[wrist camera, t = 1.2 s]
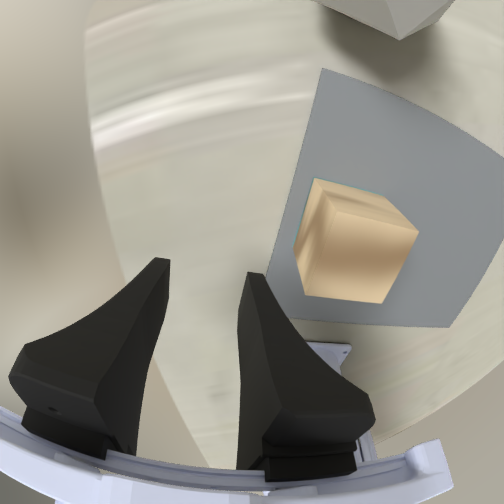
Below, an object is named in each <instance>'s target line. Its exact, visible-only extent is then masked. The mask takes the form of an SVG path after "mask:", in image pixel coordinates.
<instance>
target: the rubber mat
mask: <svg viewBox="0 0 504 504" xmlns="http://www.w3.org/2000/svg"><path fill="white" fill-rule="evenodd" d="M313 177H317V178H321V179H325V180H329V181H333V182H337V183H341V184H345V185H349V186H352V187H356V188H360V189H363V190H367V191H370V192H374V193H377V194H381V195H383V196H384V197H385V198H386V199H387V200H388V201H389V202H390V203H391V204H393V205H394V206H395V207H396V208H397V209H398V210H399V211H400V212H401V213H402V214H403V215H404V216H405V217H406V218H407V219H408V220H409V222H410V223H411V224H412V225H413V226H414V227H415V228H416V229H417V230H418V231H419V233H418V235H417V237H416V240H415V242H414V244H413V246H412V248H411V250H410V252H409V254H408V256H407V258H406V260H405V262H404V264H403V266H402V268H401V270H400V271H399V273H398V275H397V277H396V279H395V281H394V283H393V285H392V286H391V288H390V290H389V292H388V293H387V295H386V297H385V299H384V301H383V302H382V304H380V303H371V302H361V301H352V300H343V299H334V298H325V297H317V296H308V295H305V292H304V288H303V285H302V281H301V277H300V273H299V269H298V266H297V262H296V258H295V254H294V251H293V247H292V246H293V242H294V239H295V236H296V233H297V230H298V227H299V223H300V220H301V217H302V214H303V210H304V207H305V204H306V201H307V197H308V194H309V191H310V187H311V184H312V181H313ZM503 239H504V158H503V157H502V156H500V155H499V154H498V153H496V152H495V151H493V150H492V149H490V148H489V147H488V146H486V145H485V144H483V143H482V142H480V141H479V140H477V139H476V138H474V137H472V136H471V135H469V134H468V133H466V132H464V131H463V130H461V129H460V128H458V127H456V126H454V125H453V124H451V123H449V122H448V121H446V120H444V119H442V118H440V117H439V116H437V115H435V114H433V113H431V112H429V111H427V110H425V109H423V108H421V107H419V106H417V105H415V104H413V103H411V102H409V101H407V100H405V99H403V98H401V97H398V96H396V95H394V94H392V93H389V92H387V91H385V90H382V89H380V88H378V87H375V86H373V85H370V84H367V83H365V82H362V81H360V80H357V79H354V78H351V77H349V76H346V75H343V74H340V73H337V72H334V71H331V70H328V69H324V68H322V71H321V75H320V79H319V83H318V87H317V91H316V95H315V99H314V103H313V107H312V111H311V114H310V118H309V122H308V126H307V130H306V134H305V137H304V141H303V145H302V149H301V152H300V156H299V160H298V164H297V167H296V171H295V175H294V178H293V182H292V186H291V189H290V193H289V197H288V200H287V204H286V207H285V211H284V215H283V218H282V222H281V225H280V229H279V232H278V236H277V239H276V243H275V246H274V250H273V253H272V257H271V260H270V264H269V267H268V271H267V274H266V278H265V279H266V281H267V283H268V285H269V287H270V289H271V290H272V292H273V294H274V296H275V298H276V300H277V301H278V303H279V305H280V306H281V308H282V310H283V311H284V313H285V314H286V316H287V317H288V318H295V319H304V320H315V321H326V322H338V323H351V324H366V325H383V326H404V327H438V328H449V327H450V326H451V324H452V323H453V322H454V320H455V319H456V317H457V316H458V315H459V313H460V312H461V310H462V309H463V307H464V306H465V304H466V303H467V301H468V300H469V298H470V297H471V295H472V294H473V292H474V290H475V289H476V287H477V286H478V284H479V282H480V281H481V279H482V277H483V276H484V274H485V272H486V270H487V269H488V267H489V265H490V263H491V262H492V260H493V258H494V256H495V254H496V252H497V250H498V248H499V247H500V245H501V243H502V241H503Z"/></svg>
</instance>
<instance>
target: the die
mask: <svg viewBox="0 0 504 504" xmlns="http://www.w3.org/2000/svg"><path fill="white" fill-rule="evenodd" d="M312 1H315V2H317V3H320V4H322V5H325V6H327V7H329V8H332V9H334V10H336V11H338V12H340V13H343V14H345V15H347V16H349V17H351V18H353V19H355V20H357V21H359V22H361V23H363V24H366V25H368V26H370V27H372V28H375V29H377V30H379V31H381V32H383V33H385V34H388V35H390V36H392V37H394V38H396V39H398V40H401V39H403V38H405V37H407V36H409V35H411V34H413V33H415V32H417V31H419V30H421V29H423V28H425V27H427V26H429V25H431V24H433V23H435V22H437V21H438V20H439V19H440V17H441V16H442V15H443V14H444V13H445V11H446V10H447V9H448V8H449V7H450V5H451V4H452V3H453V2H454V1H455V0H312Z"/></svg>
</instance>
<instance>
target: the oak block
mask: <svg viewBox="0 0 504 504" xmlns="http://www.w3.org/2000/svg"><path fill="white" fill-rule="evenodd" d="M418 233H419V231H418V230H417V229H416V228H415V227H414V226H413V225H412V224H411V223H410V222H409V220H408V219H407V218H406V217H405V216H404V215H403V214H402V213H401V212H400V211H399V210H398V209H397V208H396V207H395V206H394V205H393V204H391V203H390V202H389V201H388V200H387V199H386V198H385V197H384V196H383V195H381V194H377V193H374V192H370V191H367V190H363V189H360V188H356V187H352V186H349V185H345V184H341V183H337V182H333V181H329V180H325V179H321V178H317V177H313V181H312V184H311V187H310V191H309V194H308V197H307V201H306V204H305V207H304V210H303V214H302V217H301V220H300V223H299V227H298V230H297V233H296V236H295V239H294V242H293V246H292V247H293V251H294V254H295V258H296V262H297V266H298V269H299V273H300V277H301V281H302V285H303V288H304V292H305V295H308V296H317V297H325V298H334V299H343V300H352V301H361V302H371V303H380V304H382V302H383V301H384V299H385V297H386V295H387V293H388V292H389V290H390V288H391V286H392V285H393V283H394V281H395V279H396V277H397V275H398V273H399V271H400V270H401V268H402V266H403V264H404V262H405V260H406V258H407V256H408V254H409V252H410V250H411V248H412V246H413V244H414V242H415V240H416V237H417V235H418Z"/></svg>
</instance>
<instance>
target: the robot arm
mask: <svg viewBox="0 0 504 504" xmlns="http://www.w3.org/2000/svg"><path fill="white" fill-rule="evenodd" d="M169 278H170V259H164V258H158V257H155V258H154V259H153V260H152V261H151V262H150V263H149V264H148V265H147V266H146V267H145V268H144V269H143V270H142V271H141V272H140V273H139V274H138V275H137V276H136V277H135V278H134V279H133V280H132V281H131V282H130V283H128V284H127V285H126V286H125V287H124V288H123V289H122V290H121V291H119V292H118V293H117V294H116V295H115V296H114V297H112V298H111V299H110V300H109V301H107V302H106V303H105V304H104V305H102V306H101V307H99V308H98V309H97V310H95V311H93V312H92V313H90V314H89V315H87V316H86V317H84V318H82V319H81V320H79V321H77V322H75V323H74V324H72V325H70V326H68V327H66V328H64V329H62V330H60V331H58V332H56V333H53V334H51V335H49V336H46V337H44V338H41V339H38V340H36V341H33V342H30V343H27V344H25V345H24V347H23V348H22V350H21V352H20V353H19V355H18V357H17V359H16V361H15V363H14V365H13V367H12V369H11V372H10V374H9V376H8V377H9V381H10V384H11V385H12V387H13V389H14V390H15V391H16V393H17V394H18V395H19V397H20V398H21V399H22V400H23V401H24V403H25V404H26V405H27V408H26V411H25V414H24V416H23V417H21V416H19V415H17V414H15V413H13V412H11V411H9V410H7V409H6V408H4V407H2V406H0V471H2V472H3V473H5V474H7V475H8V476H10V477H12V478H14V479H15V480H17V481H19V482H21V483H23V484H25V485H27V486H29V487H30V488H32V489H34V490H37V491H38V492H41V493H43V494H45V495H47V496H49V497H51V498H54V499H56V501H55V504H418V503H420V502H423V501H425V500H428V499H430V498H432V497H435V496H437V495H439V494H441V493H443V492H445V491H447V490H450V489H452V488H453V486H454V485H453V481H452V478H451V474H450V471H449V467H448V464H447V461H446V458H445V454H444V451H443V448H442V445H441V442H440V440H439V439H434V440H430V441H427V442H424V443H420V444H418V445H416V446H413V447H412V448H410V449H409V450H407V451H406V452H405V453H403V454H399V455H395V456H390V457H386V458H382V459H377V454H376V450H375V447H374V442H373V438H372V435H371V431H370V430H369V429H370V428H371V427H372V426H373V425H374V423H375V420H376V419H375V415H374V412H373V408H372V404H371V402H370V399H369V396H368V394H367V393H365V392H364V391H362V390H361V389H359V388H358V387H356V386H355V385H353V384H352V383H351V382H349V381H348V380H346V379H345V378H344V377H342V374H341V370H340V365H341V364H342V362H343V361H344V359H345V358H346V357H347V355H348V354H349V352H350V351H351V349H352V348H351V345H349V344H333V343H316V342H306V341H305V340H304V339H303V338H302V337H301V335H300V334H299V333H298V332H297V330H296V329H295V328H294V326H293V325H292V323H291V322H290V320H289V319H288V317H287V316H286V314H285V313H284V311H283V310H282V308H281V306H280V305H279V303H278V301H277V300H276V298H275V296H274V294H273V292H272V290H271V289H270V287H269V285H268V283H267V281H266V279H265V277H264V275H263V274H260V273H253V272H247V276H246V280H245V285H244V289H243V293H242V297H241V301H240V305H239V310H238V326H237V334H238V349H239V363H240V379H241V390H240V416H239V435H238V451H237V465H236V470H229V469H215V468H204V467H194V466H186V465H180V464H173V463H167V462H161V461H156V460H151V459H146V458H141V457H136V450H137V438H138V429H139V421H140V413H141V407H142V400H143V394H144V388H145V382H146V377H147V372H148V368H149V364H150V361H151V358H152V355H153V351H154V348H155V345H156V342H157V339H158V336H159V333H160V330H161V327H162V324H163V321H164V318H165V313H166V309H167V304H168V299H169ZM359 440H360V441H359ZM95 467H97V468H100V469H103V470H107V471H110V472H114V473H117V474H101V473H100V471H99V469H97V468H95ZM118 474H121V475H118ZM122 475H125V476H122ZM127 476H129V477H127ZM132 477H133V478H132ZM137 478H138V479H137ZM141 479H142V480H141ZM146 480H147V481H146ZM151 481H152V482H151ZM156 482H158V483H156ZM162 483H163V484H162ZM168 484H169V485H168ZM174 485H176V486H174ZM181 486H183V487H181ZM189 487H191V488H189ZM197 488H200V489H197ZM208 489H210V490H208ZM221 490H225V491H221ZM235 491H263V494H264V496H259V495H258V494H253V493H247V492H235Z"/></svg>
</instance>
